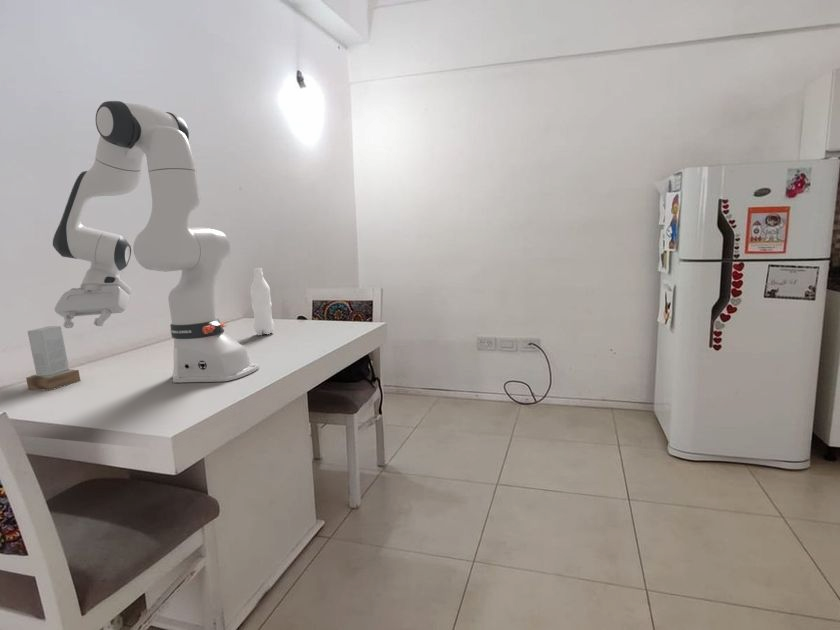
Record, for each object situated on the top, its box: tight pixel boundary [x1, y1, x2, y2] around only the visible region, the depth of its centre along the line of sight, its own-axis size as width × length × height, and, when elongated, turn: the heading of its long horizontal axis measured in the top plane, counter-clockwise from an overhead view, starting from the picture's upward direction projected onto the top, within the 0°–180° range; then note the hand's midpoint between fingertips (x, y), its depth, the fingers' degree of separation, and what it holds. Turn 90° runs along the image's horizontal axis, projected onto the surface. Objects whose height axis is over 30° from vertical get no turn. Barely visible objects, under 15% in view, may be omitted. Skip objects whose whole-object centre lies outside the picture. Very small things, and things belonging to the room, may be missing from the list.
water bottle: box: [249, 267, 275, 336], centre depth 181 cm, size 7×7×25 cm
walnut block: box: [25, 368, 81, 391], centre depth 128 cm, size 8×8×3 cm
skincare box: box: [27, 325, 70, 376], centre depth 127 cm, size 6×4×12 cm
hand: (82, 326), depth 138 cm, fingers open, 8 cm apart
